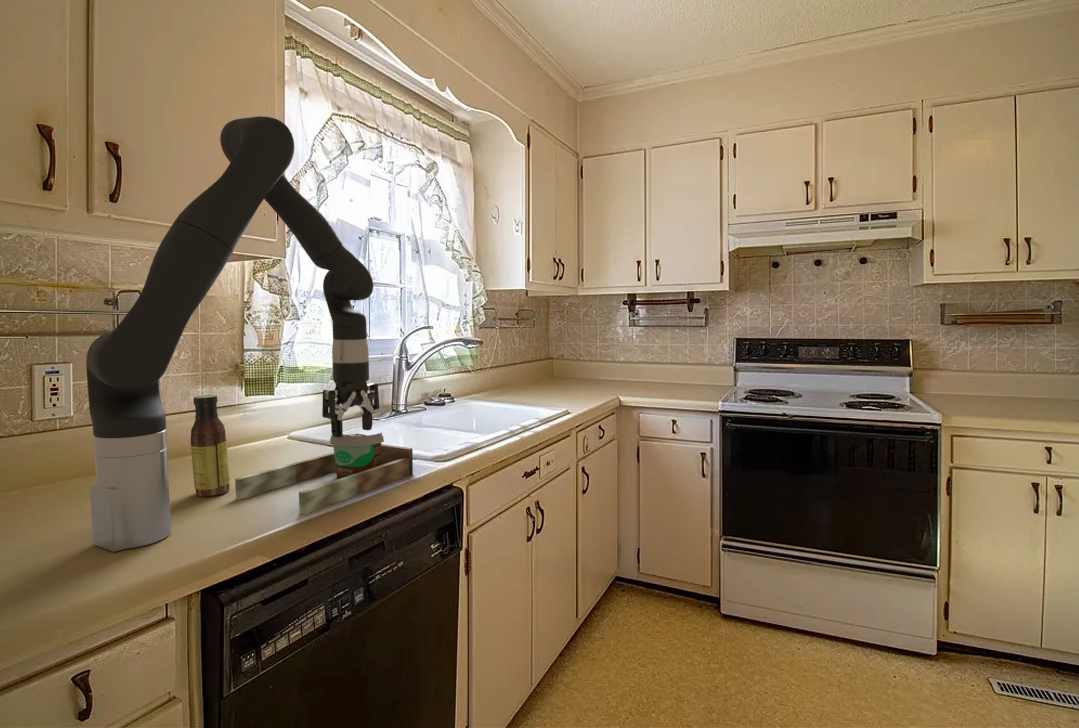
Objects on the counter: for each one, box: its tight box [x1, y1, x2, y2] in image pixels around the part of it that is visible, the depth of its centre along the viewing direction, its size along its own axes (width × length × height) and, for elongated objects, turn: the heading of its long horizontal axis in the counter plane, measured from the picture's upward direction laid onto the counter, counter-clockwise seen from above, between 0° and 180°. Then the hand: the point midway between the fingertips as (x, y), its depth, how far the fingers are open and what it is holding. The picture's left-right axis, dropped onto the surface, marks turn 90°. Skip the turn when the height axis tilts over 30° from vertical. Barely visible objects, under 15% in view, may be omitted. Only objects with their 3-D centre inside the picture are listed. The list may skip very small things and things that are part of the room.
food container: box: [329, 432, 385, 480], centre depth 122 cm, size 12×6×10 cm, turn 80°
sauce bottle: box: [190, 394, 231, 498], centre depth 110 cm, size 6×6×20 cm
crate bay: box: [234, 443, 414, 515], centre depth 117 cm, size 30×19×6 cm, turn 153°
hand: (352, 433), depth 121 cm, fingers open, 8 cm apart
